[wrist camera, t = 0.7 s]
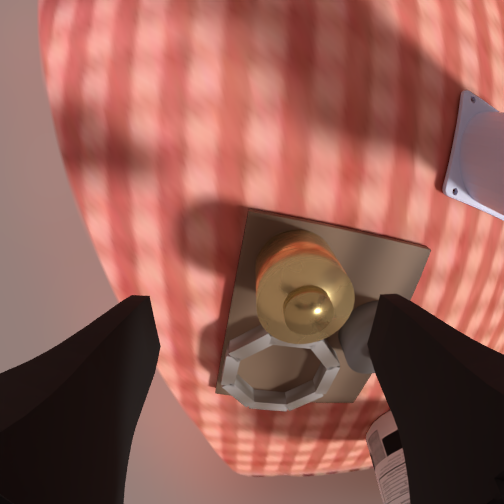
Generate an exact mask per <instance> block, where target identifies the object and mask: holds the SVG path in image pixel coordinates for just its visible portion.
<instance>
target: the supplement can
mask: <svg viewBox="0 0 504 504" xmlns="http://www.w3.org/2000/svg"><path fill="white" fill-rule="evenodd" d="M366 442H367V445H368V449H369V452H370V456H371V459H372V463H373V467H374V470H375V474H376V478H377V481H378V485H379V489H380V493H381V497H382V501H383V504H410V495H409V484H408V476H407V470H406V464H405V458H404V453H403V448H402V444H401V440H400V435H399V432H398V429H397V426H396V423H395V420H394V417H393V415H392V412H391V410H390V411H388V412H387V413H385V414H384V415H382V416H380V417H379V418H378V419H377V420H376V421H375V422H374V423H373V424H372V425H371V427H370V429H369V431H368V432H367V433H366Z"/></svg>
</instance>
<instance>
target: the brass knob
mask: <svg viewBox="0 0 504 504" xmlns="http://www.w3.org/2000/svg"><path fill="white" fill-rule="evenodd" d="M255 275H256V308H257V316H258V319H259V321H260V323H261V325H262V326H263V328H264V329H265V330H266V331H267V332H268V333H269V334H270V335H271V336H273V337H274V338H276V339H278V340H281V341H283V342H287V343H292V344H308V343H313V342H317V341H320V340H323V339H325V338H327V337H329V336H331V335H332V334H334V333H335V332H336V331H338V330H339V329H340V328H341V327H342V326H343V325H344V324H345V322H346V321H347V320H348V318H349V316H350V314H351V312H352V310H353V306H354V301H355V294H354V288H353V285H352V283H351V281H350V279H349V277H348V276H347V274H346V272H345V271H344V269H343V267H342V266H341V264H340V263H339V261H338V259H337V258H336V256H335V255H334V253H333V251H332V250H331V248H330V247H329V245H328V244H327V242H326V241H325V240H324V239H323V238H321V237H320V236H319V235H317V234H315V233H313V232H310V231H307V230H300V229H294V230H288V231H284V232H281V233H279V234H277V235H275V236H273V237H272V238H271V239H269V240H268V241H267V242H266V243H265V244H264V245H263V247H262V248H261V250H260V251H259V254H258V256H257V259H256V264H255Z"/></svg>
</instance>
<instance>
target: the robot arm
mask: <svg viewBox="0 0 504 504" xmlns="http://www.w3.org/2000/svg"><path fill="white" fill-rule="evenodd" d="M471 98H472V101H471ZM453 189H455V192H454V193H453ZM442 190H443V193H444V194H445V195H446V196H448V197H451V198H453V199H456V200H458V201H461V202H463V203H466V204H468V205H470V206H473V207H475V208H477V209H479V210H482V211H484V212H486V213H488V214H491V215H493V216H495V217H497V218H499V219H501V220H503V221H504V113H502V112H499V111H497V110H496V109H495V108H493V107H492V106H491V105H489V104H488V103H486V102H485V101H484V100H482V99H481V98H479V97H478V96H476V95H475V94H473V93H472V92H470V91H468V90H463V91H462V92H461V98H460V105H459V112H458V119H457V125H456V130H455V136H454V141H453V146H452V151H451V155H450V160H449V164H448V168H447V172H446V176H445V180H444V184H443V189H442ZM367 345H368V349H369V353H370V357H371V361H372V364H373V368H374V371H375V373H376V376H377V378H378V381H379V383H380V385H381V388H382V390H383V393H384V395H385V397H386V400H387V402H388V405H389V407H390V410H391V412H392V415H393V417H394V420H395V423H396V426H397V429H398V432H399V435H400V440H401V444H402V448H403V453H404V458H405V464H406V470H407V476H408V484H409V495H410V504H504V355H503V354H501V353H499V352H497V351H495V350H493V349H491V348H488V347H486V346H484V345H482V344H480V343H479V342H477V341H475V340H473V339H471V338H470V337H468V336H466V335H464V334H463V333H461V332H459V331H458V330H456V329H454V328H453V327H451V326H449V325H448V324H446V323H445V322H443V321H441V320H440V319H438V318H437V317H435V316H434V315H432V314H431V313H429V312H427V311H426V310H424V309H423V308H421V307H419V306H418V305H416V304H415V303H413V302H411V301H410V300H408V299H406V298H404V297H402V296H400V295H398V294H380V297H379V301H378V305H377V309H376V313H375V317H374V321H373V325H372V328H371V332H370V336H369V339H368V343H367ZM159 351H160V342H159V338H158V333H157V329H156V325H155V320H154V316H153V311H152V306H151V301H150V296H137V295H132V296H130V297H128V298H126V299H125V300H123V301H122V302H120V303H119V304H117V305H116V306H114V307H113V308H111V309H110V310H109V311H107V312H106V313H105V314H103V315H102V316H100V317H99V318H97V319H96V320H94V321H93V322H92V323H90V324H89V325H88V326H86V327H85V328H83V329H82V330H80V331H78V332H77V333H76V334H74V335H73V336H71V337H69V338H68V339H66V340H65V341H63V342H62V343H60V344H59V345H57V346H55V347H54V348H52V349H50V350H49V351H47V352H45V353H43V354H41V355H39V356H37V357H36V358H34V359H32V360H30V361H28V362H26V363H23V364H21V365H19V366H17V367H14V368H12V369H9V370H7V371H5V372H3V373H0V504H123V502H124V488H125V480H126V472H127V466H128V460H129V454H130V449H131V444H132V439H133V435H134V431H135V428H136V425H137V422H138V419H139V416H140V413H141V410H142V407H143V404H144V402H145V399H146V396H147V393H148V390H149V387H150V385H151V382H152V379H153V376H154V374H155V370H156V365H157V361H158V356H159Z"/></svg>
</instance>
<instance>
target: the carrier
mask: <svg viewBox="0 0 504 504" xmlns="http://www.w3.org/2000/svg"><path fill="white" fill-rule="evenodd" d="M294 229H300V230H307V231H310V232H313V233H315V234H317V235H319V236H320V237H321V238H323V239H324V240H325V241H326V242H327V244H328V245H329V247H330V248H331V250H332V251H333V253H334V255H335V256H336V258H337V259H338V261H339V263H340V264H341V266H342V267H343V269H344V271H345V272H346V274H347V276H348V277H349V279H350V281H351V283H352V285H353V288H354V294H355V301H354V306H353V310H352V312H351V314H350V316H349V318H348V320H347V321H346V322H345V324H344V325H343V326H342V327H341V328H340V329H339V330H338V331H336V332H335V333H334V334H332V335H331V336H329V337H327V338H325V339H323V340H320V341H317V342H313V343H308V344H292V343H287V342H283V341H281V340H278V339H276V338H274V337H273V336H271V335H270V334H269V333H268V332H267V331H266V330H265V329H264V328H263V326H262V325H261V323H260V321H259V319H258V316H257V308H256V275H255V264H256V259H257V256H258V254H259V251H260V250H261V248H262V247H263V245H264V244H265V243H266V242H267V241H268V240H269V239H271V238H272V237H273V236H275V235H277V234H279V233H281V232H284V231H288V230H294ZM430 252H431V250H430V249H429V248H428V247H426V246H422V245H418V244H414V243H410V242H406V241H402V240H398V239H393V238H389V237H385V236H381V235H376V234H372V233H367V232H363V231H358V230H354V229H349V228H345V227H340V226H335V225H331V224H326V223H321V222H316V221H311V220H306V219H301V218H296V217H291V216H286V215H281V214H276V213H270V212H265V211H260V210H254V209H249V211H248V216H247V221H246V226H245V232H244V237H243V242H242V247H241V253H240V258H239V263H238V269H237V274H236V279H235V285H234V290H233V296H232V301H231V307H230V312H229V318H228V323H227V329H226V334H225V340H224V345H223V351H222V356H221V362H220V368H219V373H218V379H217V385H216V392H215V393H217V394H224V395H231V396H233V397H234V398H235V399H237V400H238V401H239V402H240V403H241V404H243V405H244V406H245V407H248V406H249V408H251V409H262V410H274V411H287V409H288V410H289V411H290V410H293V409H295V408H298V407H300V406H302V405H305V404H307V403H309V402H318V403H353V402H354V401H355V399H356V398H357V396H358V395H359V393H360V392H361V390H362V389H363V387H364V385H365V384H366V382H367V381H368V379H369V377H370V376H371V374H372V373H375V371H374V368H373V364H372V361H371V357H370V353H369V349H368V345H367V343H368V339H369V336H370V332H371V328H372V325H373V321H374V317H375V313H376V309H377V305H378V301H379V297H380V294H398V295H400V296H402V297H404V298H406V299H408V300H411V297H412V295H413V293H414V291H415V289H416V286H417V284H418V282H419V279H420V277H421V274H422V272H423V269H424V267H425V264H426V262H427V259H428V257H429V254H430Z"/></svg>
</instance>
